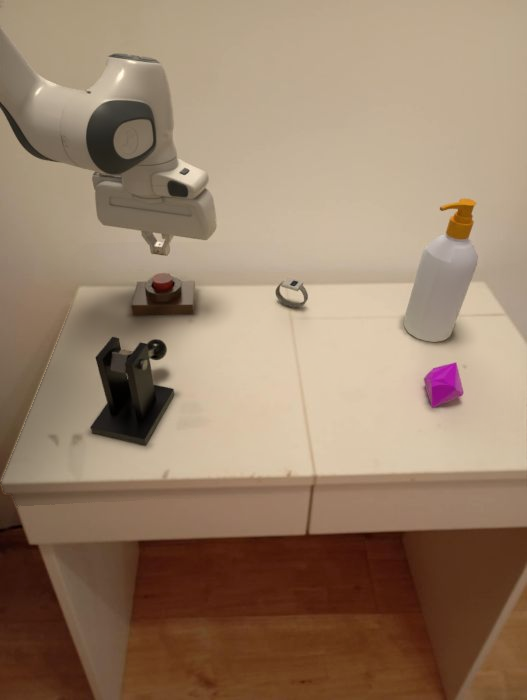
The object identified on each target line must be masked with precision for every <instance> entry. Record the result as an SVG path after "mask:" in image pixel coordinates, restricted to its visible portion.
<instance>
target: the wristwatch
mask: <svg viewBox="0 0 527 700" xmlns="http://www.w3.org/2000/svg"><path fill="white" fill-rule="evenodd" d="M281 288H285V289H289V290H291V291H295V292H299V291H300V292H301V294H302V295H303V301H302V302H298V303H296V302H291V301H289V300H288V299H287V298H285V297H284V296H283V295H282V293H281V290H280V289H281ZM275 296H276V298H277V300H278V301H280V303H281V304H283V305H285V306H287V307H289V308H294V309H295V308H300V307H303V306H305V304H306V303H307V302H308V299H309V293H308V291H307V288H306V287H305V286H304V282H303V281H300V280H297V279H293V278H290V277H286V279H285V280H282V281H281V282H280V283H279V284H278V285H277V287H276V288H275Z"/></svg>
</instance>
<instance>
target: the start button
mask: <svg viewBox="0 0 527 700" xmlns="http://www.w3.org/2000/svg"><path fill="white" fill-rule="evenodd" d="M172 276H173V275H171V274H170V273H167V272H160V273H156V274H155V275H153V276H152V277H151V278H152V281H153V288H154V289H155V290H158V291H166V290H169V289H171V288H172V287H173V279H172Z"/></svg>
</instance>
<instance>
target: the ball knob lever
mask: <svg viewBox="0 0 527 700" xmlns="http://www.w3.org/2000/svg"><path fill="white" fill-rule="evenodd" d="M146 343H147V347H148V353H149V359H150V360H152V361H160V360H162V359H163V358H164V357H166V355H167V353H168V348H167V344H166V343H165V342H164V341H163V340H161V339H158V338H153V339H151V340H149V341H148V342H146ZM133 352H134V350H130V349H124V348H121V350H117V351H114V352H112V356H111V366H110V370H113V371H118V372H122V373H127V372H126V367H125V363H126V361H127V360H128V358H129V357H130V356H131V354H132V353H133Z"/></svg>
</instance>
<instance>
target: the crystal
mask: <svg viewBox="0 0 527 700" xmlns="http://www.w3.org/2000/svg"><path fill="white" fill-rule="evenodd" d="M423 381H424V382H423V383H424V385H425V389H426V392H427V395H428V400H429V403H430V406H431V408H432V409H433V408H435V407H437V406H440V405H444V404H445V403H447V402H448V403H449V402H450V401H452V400H455V399H457V398H460V397H463V396H464V393H465V392H464V389H463V384H462V380H461V376H460V372H459V368H458V364H457V362H452V363H448V364H444V365H440V366H437V367H433V368H431V370H430V371H429V372H428V373H427V374H426V375H425V376H424V377H423Z"/></svg>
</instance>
